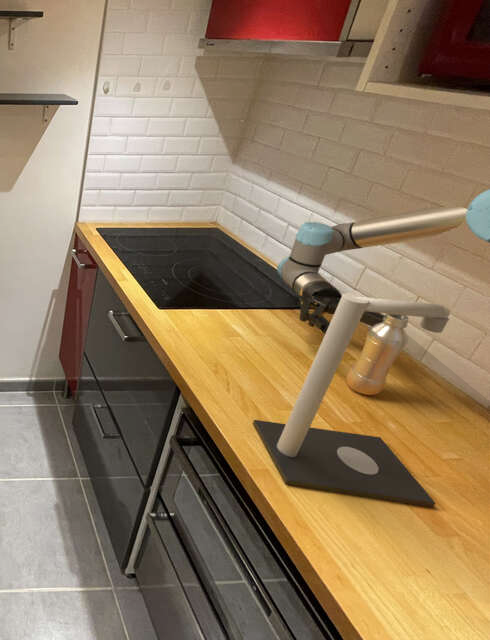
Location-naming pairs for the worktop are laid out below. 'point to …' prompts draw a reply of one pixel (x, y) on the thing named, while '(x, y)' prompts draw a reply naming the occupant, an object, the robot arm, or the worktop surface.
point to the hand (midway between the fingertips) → (368, 340)
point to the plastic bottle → (378, 355)
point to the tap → (340, 447)
